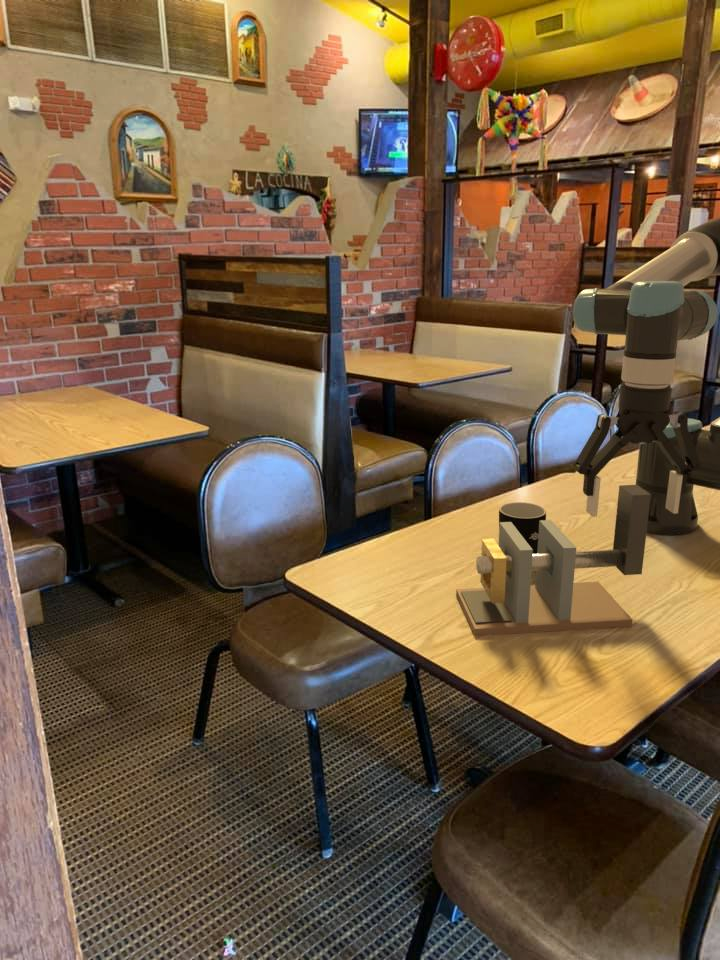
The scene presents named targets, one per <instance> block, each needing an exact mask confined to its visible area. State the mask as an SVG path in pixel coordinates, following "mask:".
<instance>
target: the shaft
mask: <svg viewBox="0 0 720 960" xmlns="http://www.w3.org/2000/svg"><path fill="white" fill-rule="evenodd" d="M650 498H651V494H649V493H648V492H647V491H645V490H644V489H642V488H641V487H639V486H638V485H636V484H625V485H624V484H623V485H620V484H619V485H618V496H617V504H616V505H617V507H616V516H615V526H614V533H613V534H614V536H613V545H612V549H606V550H605V549H602V550H585V551H582V550H581V551H576V559H575V569H594V568H595V569H596V568H610V567H611V568H614V567H616V569H617V570H619V572H620V573H621V574H622V575H624V576H633V575H634V576H635V575H642V574H643V573H642V572H643V566H644V560H645V559H644V557H645V550H646V549H645V547H646V541H647V533H648V532H647V524H648V515H649V507H650ZM505 556H506V558H507V561H506V572H511V568H512V557H511V555H505ZM553 563H554V555H553V553H540V554H533V555H532V571H531V572H536V571H539V570H553ZM491 564H492V563H491V562H490V560H489V558H488V557H487V556H481V555H480V556H477V557H476V570H477V573H478V574H479V575H481V574H482V573H491Z"/></svg>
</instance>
